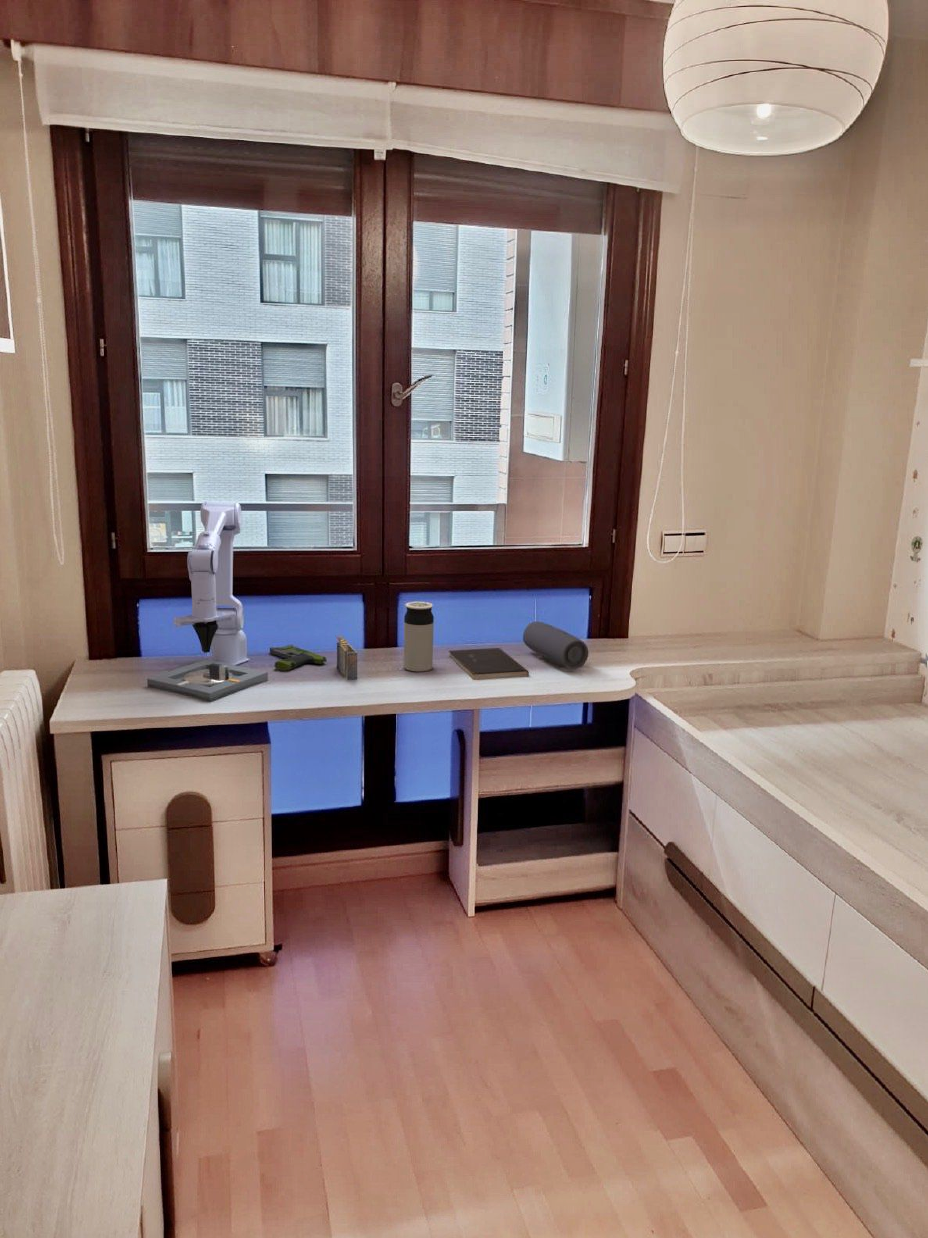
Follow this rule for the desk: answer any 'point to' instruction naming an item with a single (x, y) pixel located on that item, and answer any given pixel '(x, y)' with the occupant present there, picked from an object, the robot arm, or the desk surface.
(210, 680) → the dial
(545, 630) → the bluetooth speaker
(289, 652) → the gun
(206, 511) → the robot arm
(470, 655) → the hardcover book
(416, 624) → the travel mug
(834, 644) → the desk surface
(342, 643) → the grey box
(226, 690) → the dial plate
